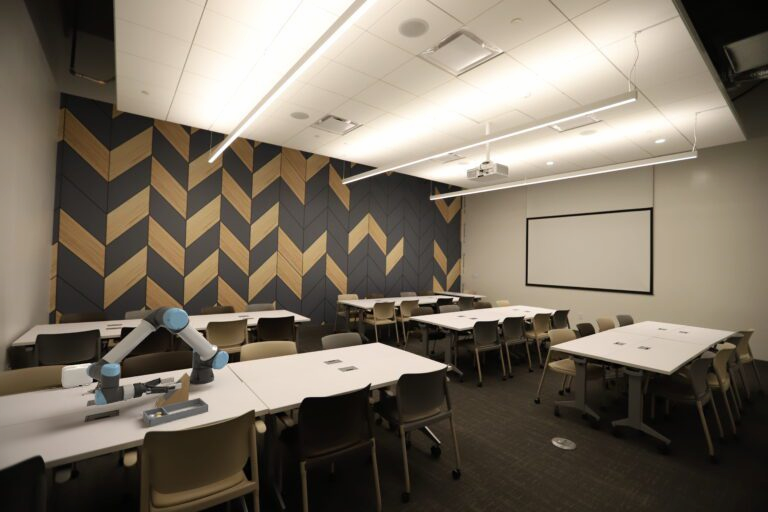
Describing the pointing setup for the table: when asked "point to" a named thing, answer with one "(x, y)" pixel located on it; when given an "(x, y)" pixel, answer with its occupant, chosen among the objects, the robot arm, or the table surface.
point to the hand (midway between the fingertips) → (177, 382)
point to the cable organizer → (75, 376)
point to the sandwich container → (176, 393)
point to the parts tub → (162, 416)
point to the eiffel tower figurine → (95, 388)
